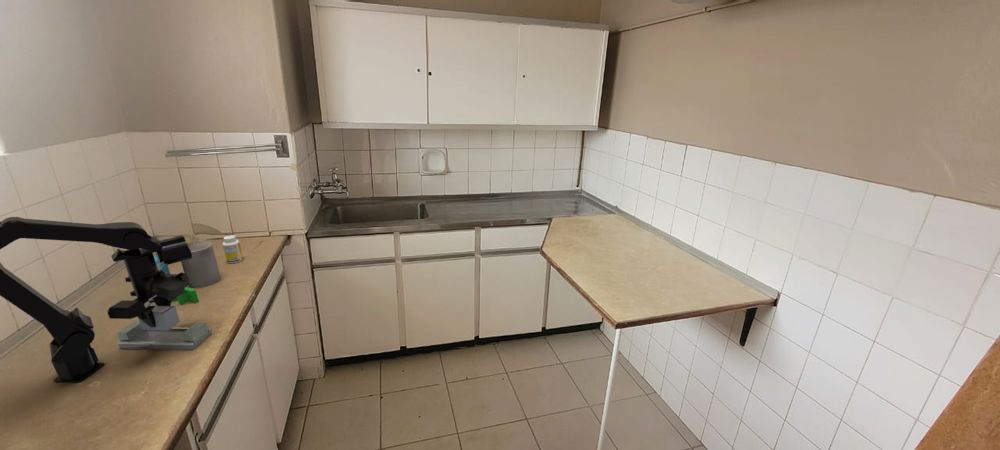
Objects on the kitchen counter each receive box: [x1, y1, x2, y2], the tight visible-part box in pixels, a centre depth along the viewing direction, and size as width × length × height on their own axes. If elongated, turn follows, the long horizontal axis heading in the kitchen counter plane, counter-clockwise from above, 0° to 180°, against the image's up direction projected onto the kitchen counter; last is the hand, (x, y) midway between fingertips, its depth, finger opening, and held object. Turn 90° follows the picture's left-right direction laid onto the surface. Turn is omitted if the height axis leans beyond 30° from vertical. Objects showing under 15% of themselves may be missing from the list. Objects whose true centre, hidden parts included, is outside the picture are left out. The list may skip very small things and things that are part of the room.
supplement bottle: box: [222, 234, 244, 264], centre depth 156 cm, size 6×6×10 cm
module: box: [137, 305, 181, 330], centre depth 107 cm, size 4×7×5 cm, turn 89°
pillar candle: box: [180, 240, 221, 289], centre depth 139 cm, size 10×10×15 cm
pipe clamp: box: [171, 286, 200, 306], centre depth 129 cm, size 11×4×5 cm, turn 67°
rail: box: [116, 320, 213, 351], centre depth 109 cm, size 7×20×4 cm, turn 89°
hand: (160, 322), depth 107 cm, fingers closed on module, 4 cm apart
